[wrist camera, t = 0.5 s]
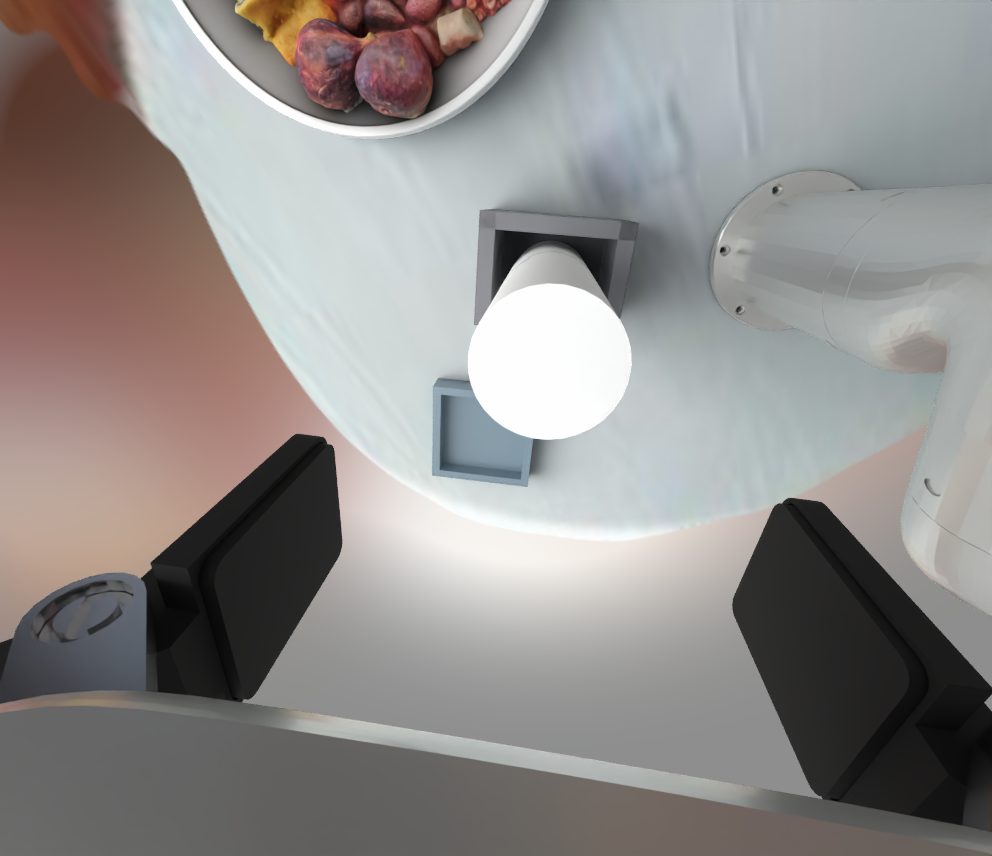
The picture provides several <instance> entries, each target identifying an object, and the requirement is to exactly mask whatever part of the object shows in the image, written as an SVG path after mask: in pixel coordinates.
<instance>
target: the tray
mask: <svg viewBox="0 0 992 856" xmlns="http://www.w3.org/2000/svg"><path fill="white" fill-rule="evenodd" d="M532 445H533V438H530V437H526V436H522V435H519V434H516V433H514V432H512V431H510V430H508V429H506V428H504V427H503V426H502V425H500V424H499V423H498V422H496V421H495V420H494V419H492V417H491V416H490V415H489V414H488V413H487V412H486V411H485V410H484V409H483V407H482V406H481V404H480V403H479V401H478V400H477V398H476V396H475V393H474V391H473V388H472V386H471V383H470V382H469V381H459V380H450V379H440V378H438V380H437V381H436V383H435V384H434V386H433V456H432V475H433V476H441V477H450V478H458V479H466V480H475V481H483V482H491V483H500V484H508V485H517V486H525V487H527V486H528V478H529V470H530V461H531V453H532Z"/></svg>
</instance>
